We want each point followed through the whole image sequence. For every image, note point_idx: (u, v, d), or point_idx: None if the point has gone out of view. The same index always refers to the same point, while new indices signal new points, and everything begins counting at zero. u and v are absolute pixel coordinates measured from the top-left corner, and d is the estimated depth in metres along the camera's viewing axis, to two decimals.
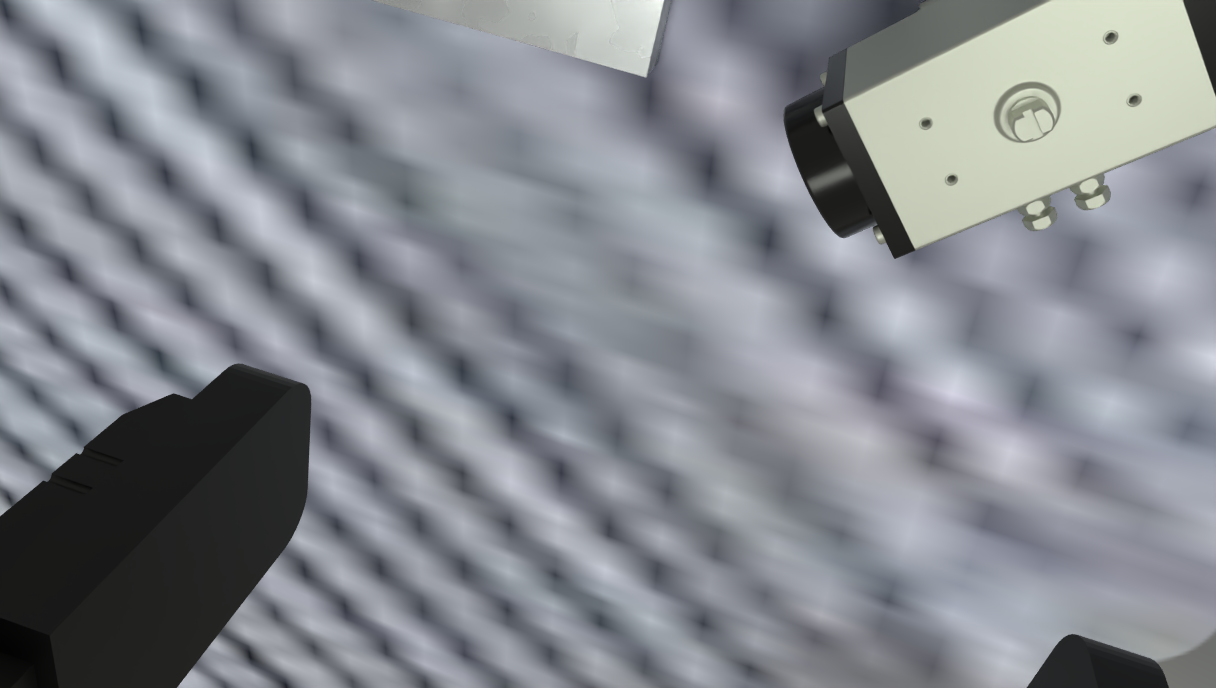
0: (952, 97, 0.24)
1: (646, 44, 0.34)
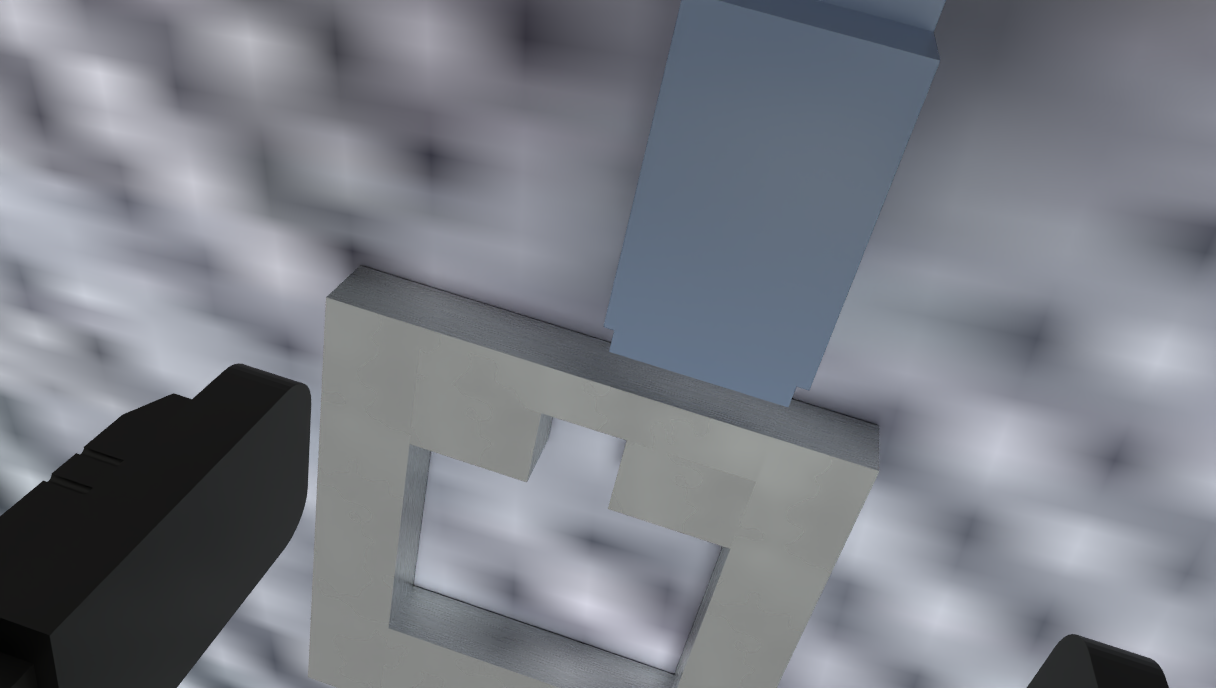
0: None
1: None
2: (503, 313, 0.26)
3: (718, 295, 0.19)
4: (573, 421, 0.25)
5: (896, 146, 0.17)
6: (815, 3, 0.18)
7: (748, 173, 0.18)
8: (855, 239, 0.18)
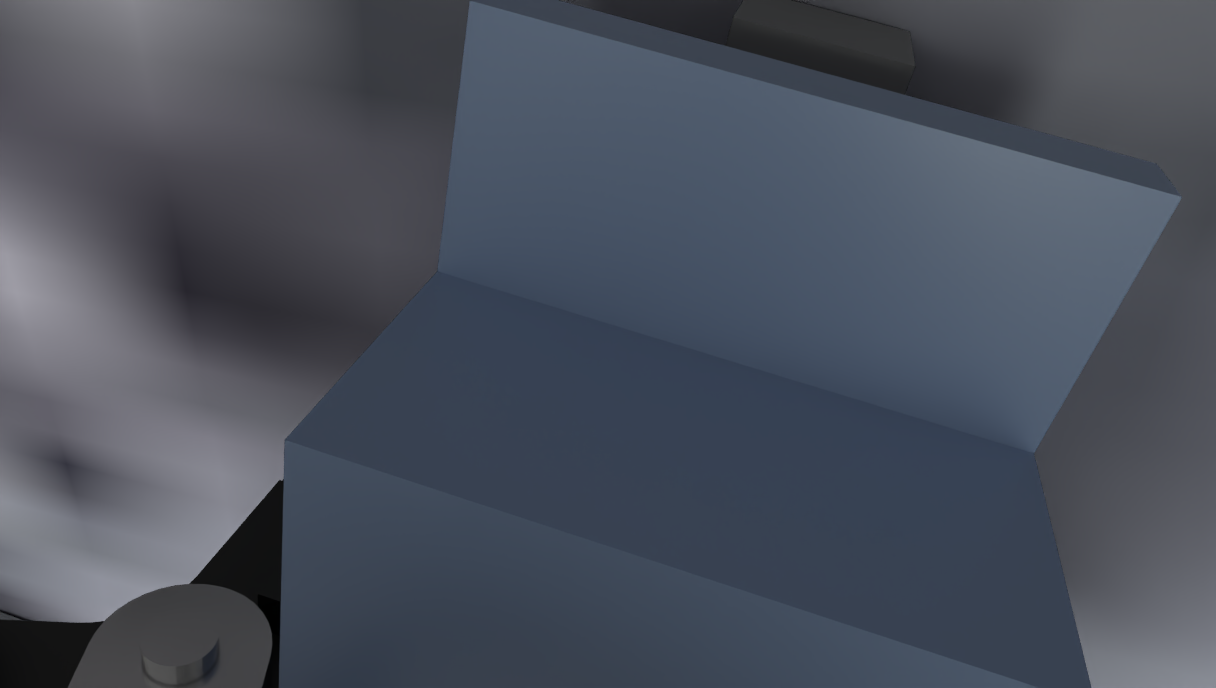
0: None
1: None
2: None
3: None
4: None
5: None
6: (719, 380, 0.07)
7: None
8: None
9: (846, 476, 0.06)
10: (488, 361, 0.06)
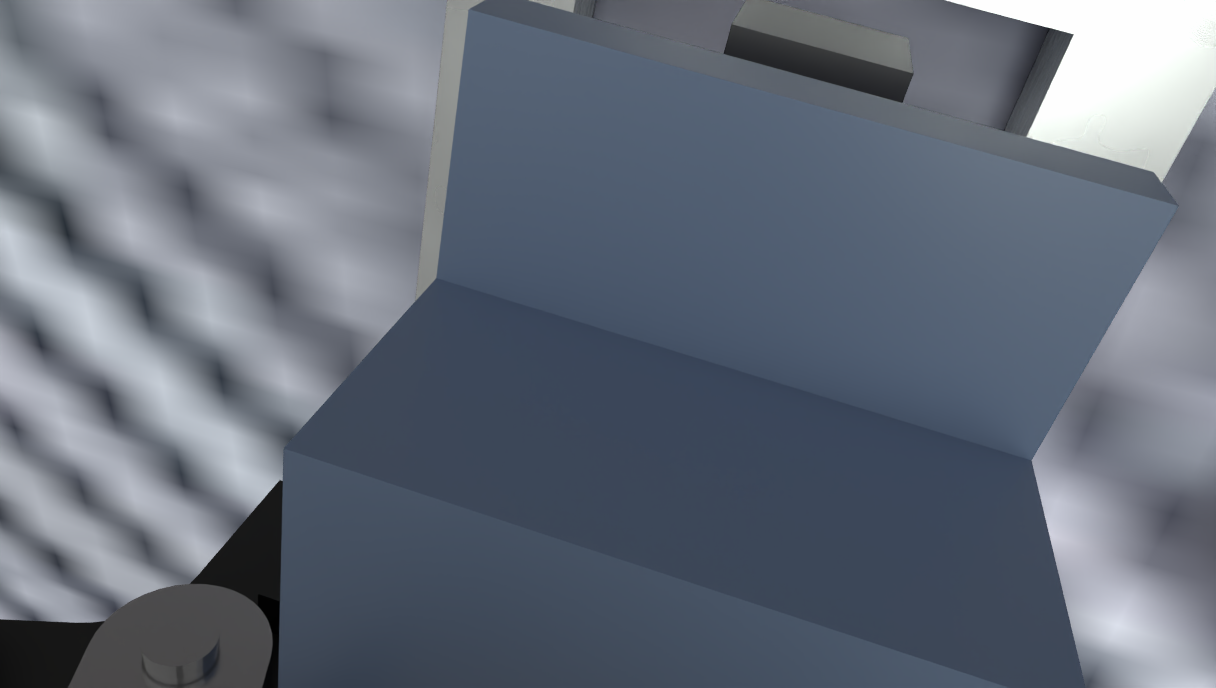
0: None
1: None
2: None
3: None
4: None
5: None
6: (717, 387, 0.07)
7: None
8: None
9: (844, 484, 0.06)
10: (487, 369, 0.06)
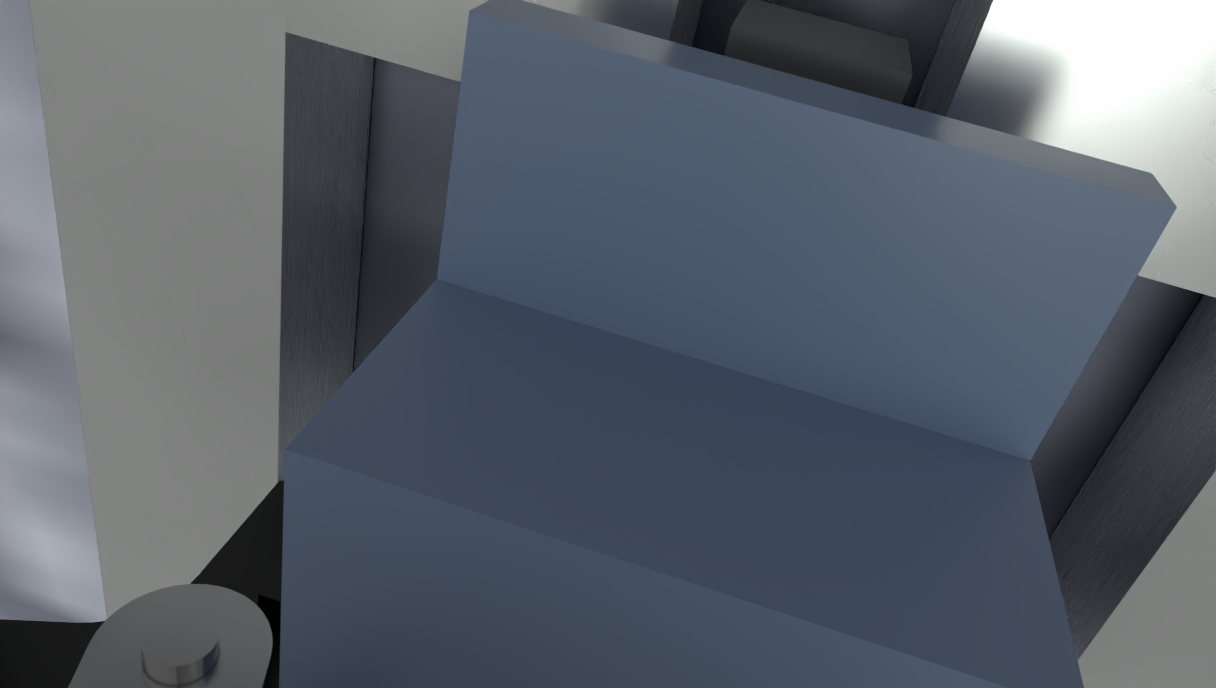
0: None
1: None
2: None
3: None
4: None
5: None
6: (717, 388, 0.07)
7: None
8: None
9: (843, 484, 0.06)
10: (487, 369, 0.06)
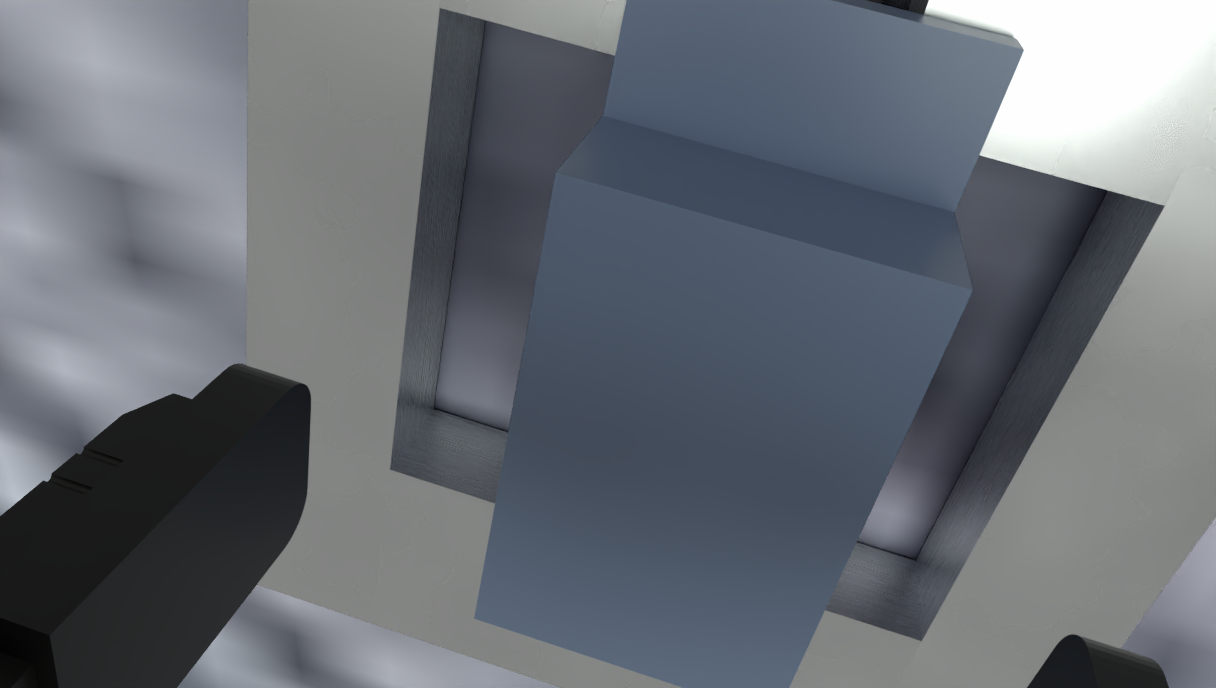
0: None
1: None
2: None
3: (636, 591, 0.13)
4: None
5: (902, 410, 0.11)
6: (772, 170, 0.12)
7: (672, 434, 0.11)
8: (839, 532, 0.12)
9: (847, 210, 0.11)
10: (645, 153, 0.11)
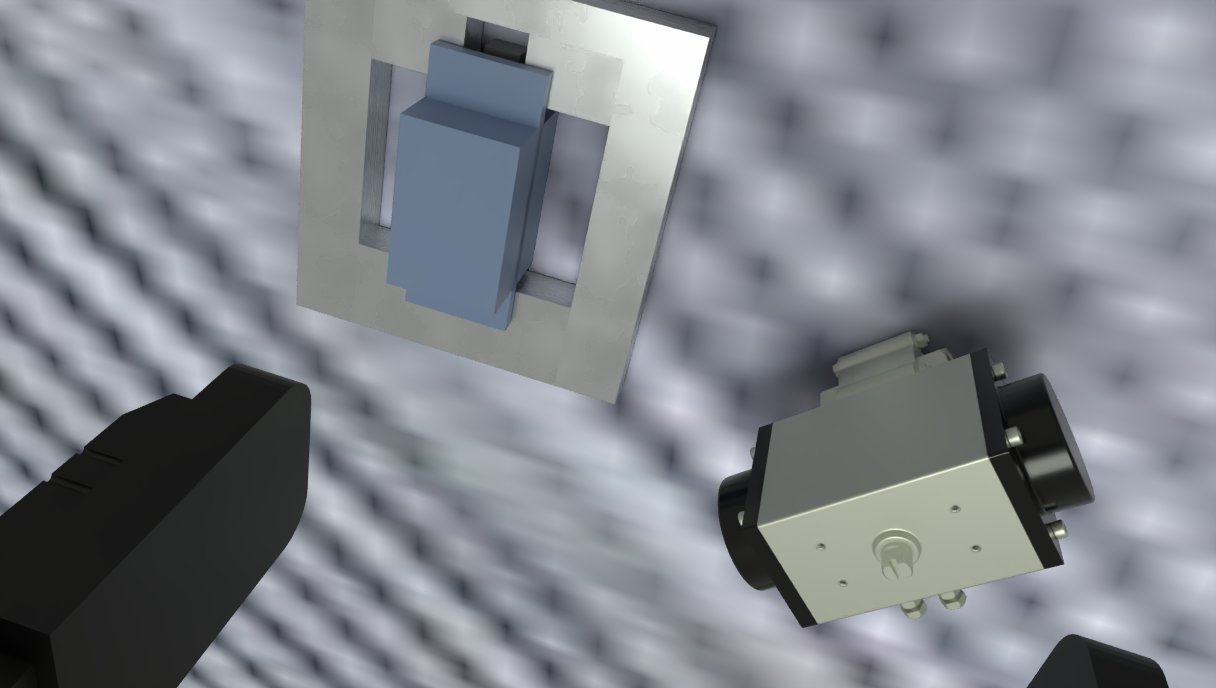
0: (839, 532, 0.31)
1: (614, 381, 0.41)
2: None
3: (440, 264, 0.36)
4: (490, 22, 0.34)
5: (509, 188, 0.34)
6: (478, 115, 0.35)
7: (444, 201, 0.35)
8: (500, 234, 0.35)
9: (496, 126, 0.34)
10: (434, 108, 0.35)
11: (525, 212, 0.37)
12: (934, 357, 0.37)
